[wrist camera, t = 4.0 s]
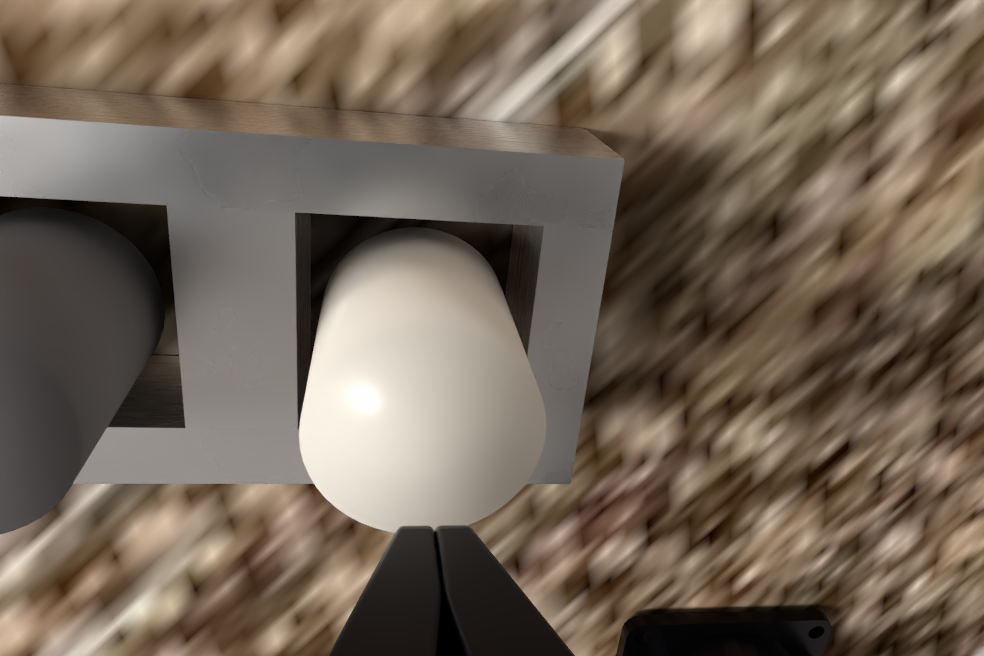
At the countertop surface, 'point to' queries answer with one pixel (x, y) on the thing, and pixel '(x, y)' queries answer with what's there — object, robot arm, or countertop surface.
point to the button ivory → (419, 387)
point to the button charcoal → (65, 348)
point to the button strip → (307, 252)
